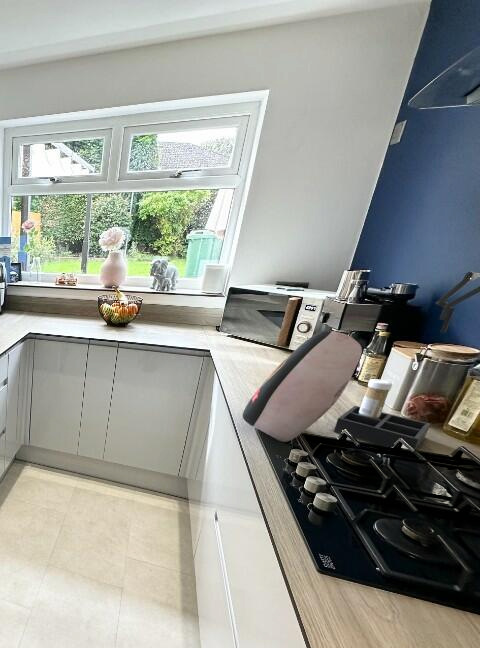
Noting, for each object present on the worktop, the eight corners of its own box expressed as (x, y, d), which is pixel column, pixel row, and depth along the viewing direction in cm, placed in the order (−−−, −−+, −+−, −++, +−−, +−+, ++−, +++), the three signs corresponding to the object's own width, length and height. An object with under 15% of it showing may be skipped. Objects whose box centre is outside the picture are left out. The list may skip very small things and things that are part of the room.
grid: (424, 439, 108) (430, 423, 107) (411, 455, 100) (418, 439, 98) (349, 419, 120) (354, 405, 118) (333, 432, 112) (338, 418, 110)
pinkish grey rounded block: (253, 413, 125) (278, 318, 115) (335, 433, 111) (372, 328, 101) (231, 434, 111) (258, 329, 101) (322, 461, 97) (363, 342, 87)
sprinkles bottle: (380, 428, 112) (397, 384, 108) (363, 428, 113) (380, 383, 108) (366, 421, 117) (382, 378, 112) (350, 421, 117) (365, 378, 112)
